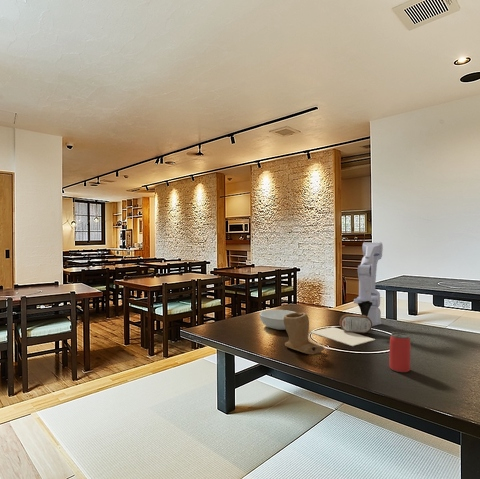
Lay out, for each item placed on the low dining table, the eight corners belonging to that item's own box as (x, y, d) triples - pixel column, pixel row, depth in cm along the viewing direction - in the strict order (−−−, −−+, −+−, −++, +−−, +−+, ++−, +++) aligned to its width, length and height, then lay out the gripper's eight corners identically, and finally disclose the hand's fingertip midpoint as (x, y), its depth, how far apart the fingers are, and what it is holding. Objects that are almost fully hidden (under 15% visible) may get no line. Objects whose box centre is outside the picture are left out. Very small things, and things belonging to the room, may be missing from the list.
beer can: (385, 366, 121) (386, 332, 121) (403, 365, 121) (403, 332, 121) (395, 373, 114) (396, 338, 114) (414, 373, 115) (414, 337, 115)
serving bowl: (267, 334, 159) (267, 320, 158) (254, 323, 179) (254, 310, 179) (308, 331, 164) (308, 317, 164) (290, 321, 184) (290, 308, 184)
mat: (332, 327, 171) (332, 327, 171) (375, 340, 152) (375, 339, 152) (310, 332, 162) (310, 331, 162) (352, 346, 143) (352, 345, 143)
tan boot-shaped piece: (277, 347, 140) (277, 311, 140) (298, 343, 146) (299, 308, 146) (302, 359, 127) (303, 319, 127) (325, 353, 134) (325, 315, 133)
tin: (370, 332, 163) (371, 315, 164) (372, 334, 160) (373, 316, 160) (338, 330, 165) (339, 312, 165) (340, 331, 162) (340, 314, 162)
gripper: (367, 286, 174) (366, 313, 174) (348, 289, 166) (348, 316, 166) (379, 288, 168) (379, 316, 168) (361, 291, 160) (360, 319, 160)
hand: (364, 316), depth 166 cm, fingers closed
